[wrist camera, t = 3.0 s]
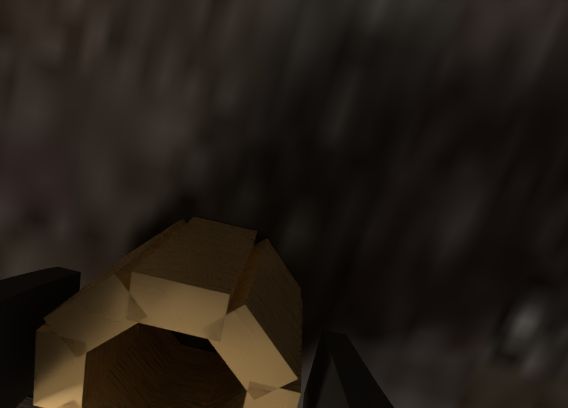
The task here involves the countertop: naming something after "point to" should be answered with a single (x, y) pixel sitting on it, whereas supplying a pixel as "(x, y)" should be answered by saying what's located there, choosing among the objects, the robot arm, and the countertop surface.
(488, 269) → the countertop surface
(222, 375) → the brass ring
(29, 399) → the piston stand
